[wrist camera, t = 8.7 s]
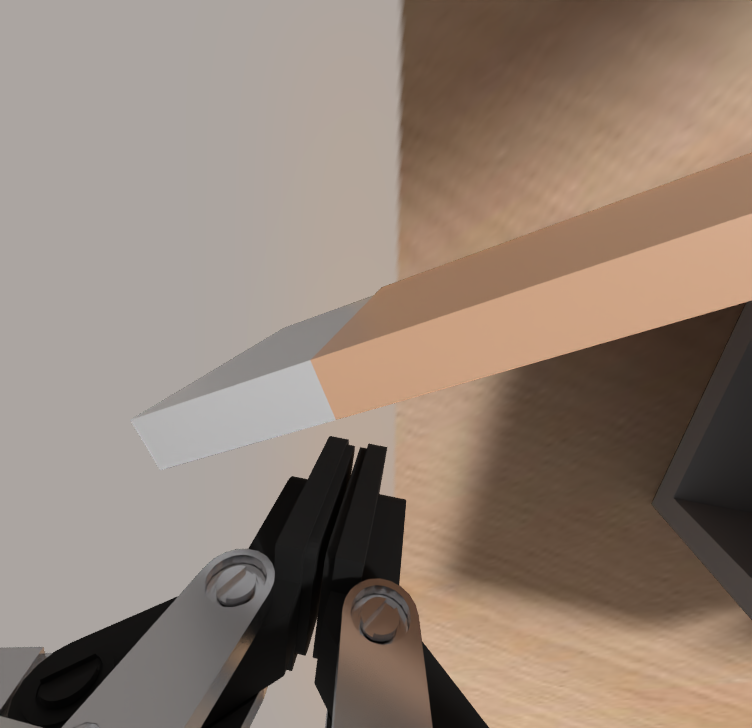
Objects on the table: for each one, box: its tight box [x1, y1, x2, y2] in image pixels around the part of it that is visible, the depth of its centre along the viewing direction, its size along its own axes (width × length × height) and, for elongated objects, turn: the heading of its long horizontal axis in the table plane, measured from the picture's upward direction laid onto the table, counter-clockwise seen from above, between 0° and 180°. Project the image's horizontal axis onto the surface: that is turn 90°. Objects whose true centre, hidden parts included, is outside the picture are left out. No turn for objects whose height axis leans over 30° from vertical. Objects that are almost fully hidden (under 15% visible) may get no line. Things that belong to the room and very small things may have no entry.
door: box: [131, 153, 752, 470], centre depth 10 cm, size 21×1×11 cm, turn 110°
